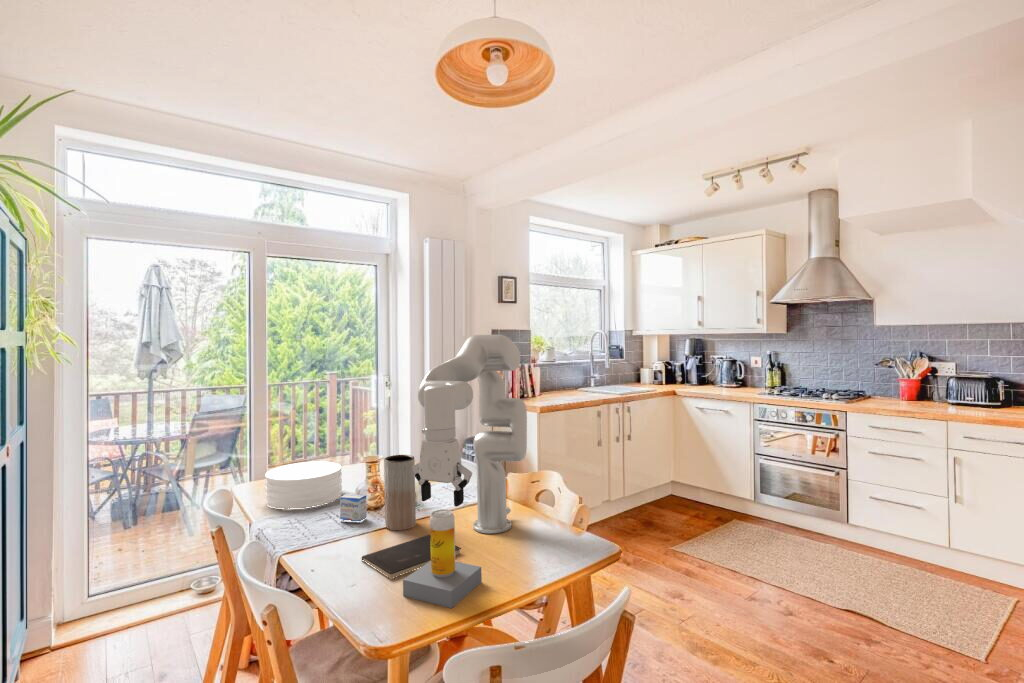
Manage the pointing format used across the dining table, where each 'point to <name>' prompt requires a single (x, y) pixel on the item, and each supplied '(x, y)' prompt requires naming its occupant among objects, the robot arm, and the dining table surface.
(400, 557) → the hardcover book
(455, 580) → the plate
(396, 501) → the planter
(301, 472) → the plate stack
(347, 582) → the dining table surface
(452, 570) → the beer can
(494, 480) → the robot arm
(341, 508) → the medicine box
